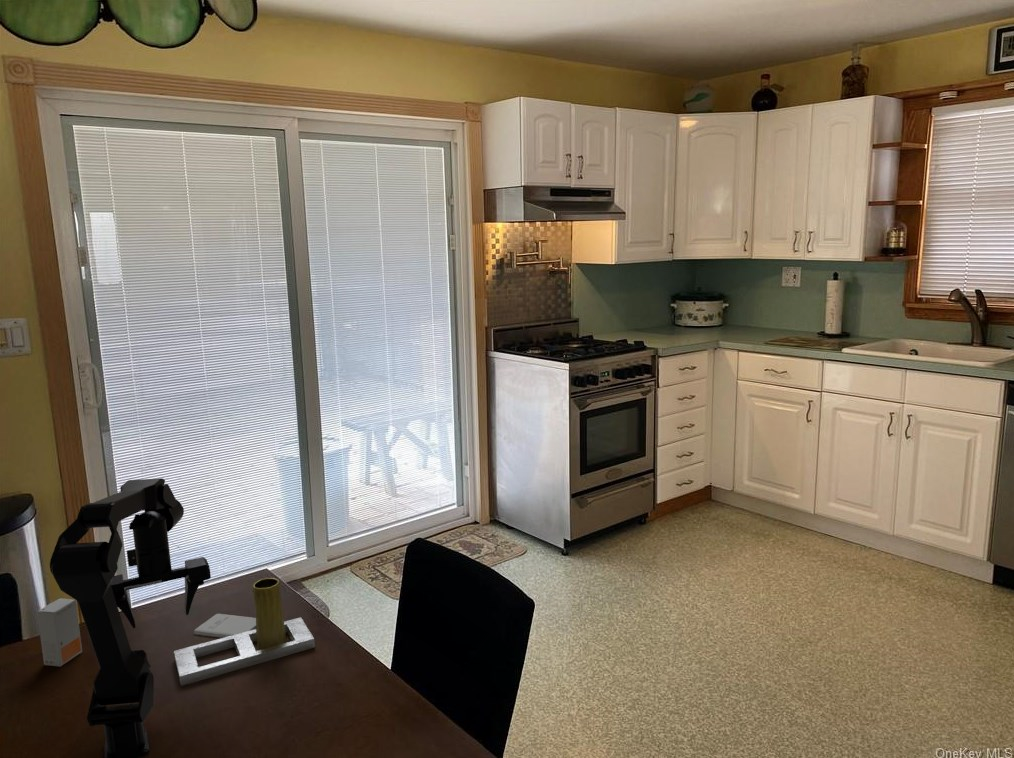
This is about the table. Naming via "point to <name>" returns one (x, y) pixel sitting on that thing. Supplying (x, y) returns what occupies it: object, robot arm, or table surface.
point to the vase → (268, 613)
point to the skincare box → (59, 632)
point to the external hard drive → (226, 625)
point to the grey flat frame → (239, 652)
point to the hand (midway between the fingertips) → (161, 620)
